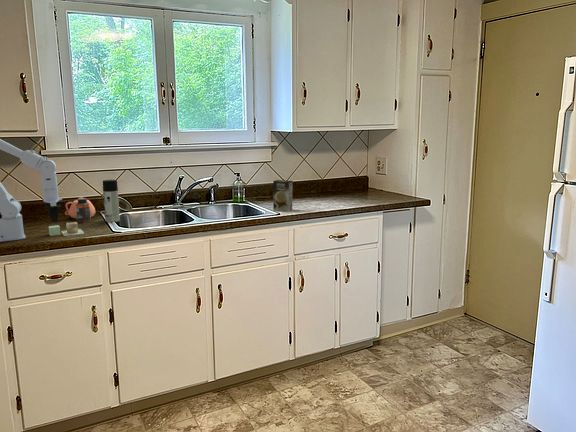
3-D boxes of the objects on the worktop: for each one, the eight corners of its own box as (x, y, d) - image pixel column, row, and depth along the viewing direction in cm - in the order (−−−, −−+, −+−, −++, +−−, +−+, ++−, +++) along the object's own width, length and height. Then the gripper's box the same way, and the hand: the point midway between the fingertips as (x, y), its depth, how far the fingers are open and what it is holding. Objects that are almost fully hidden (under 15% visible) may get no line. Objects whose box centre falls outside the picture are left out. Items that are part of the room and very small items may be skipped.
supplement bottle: (92, 220, 234) (90, 197, 232) (88, 223, 228) (86, 199, 226) (80, 220, 234) (78, 197, 232) (75, 223, 228) (73, 199, 226)
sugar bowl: (96, 219, 237) (94, 198, 235) (65, 221, 232) (63, 200, 230) (95, 214, 248) (94, 195, 246) (66, 216, 243) (64, 196, 241)
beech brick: (68, 233, 205) (67, 224, 204) (67, 231, 208) (66, 222, 207) (78, 232, 207) (77, 223, 206) (77, 230, 210) (76, 221, 209)
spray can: (105, 220, 234) (101, 179, 230) (119, 219, 236) (116, 179, 232) (105, 223, 228) (102, 181, 224) (120, 222, 230) (117, 180, 226)
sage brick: (50, 237, 201) (49, 227, 201) (49, 235, 205) (48, 226, 204) (60, 236, 203) (59, 226, 203) (59, 234, 207) (58, 225, 206)
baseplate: (64, 236, 201) (63, 235, 201) (61, 232, 210) (61, 230, 210) (84, 234, 205) (84, 233, 205) (81, 230, 214) (80, 228, 214)
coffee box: (272, 210, 258) (272, 180, 255) (277, 208, 264) (277, 179, 261) (288, 211, 255) (288, 181, 252) (292, 209, 261) (292, 180, 258)
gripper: (62, 190, 196) (66, 222, 199) (58, 185, 208) (62, 216, 211) (43, 191, 192) (47, 224, 195) (40, 187, 205) (44, 218, 207)
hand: (53, 220), depth 203 cm, fingers open, 7 cm apart
